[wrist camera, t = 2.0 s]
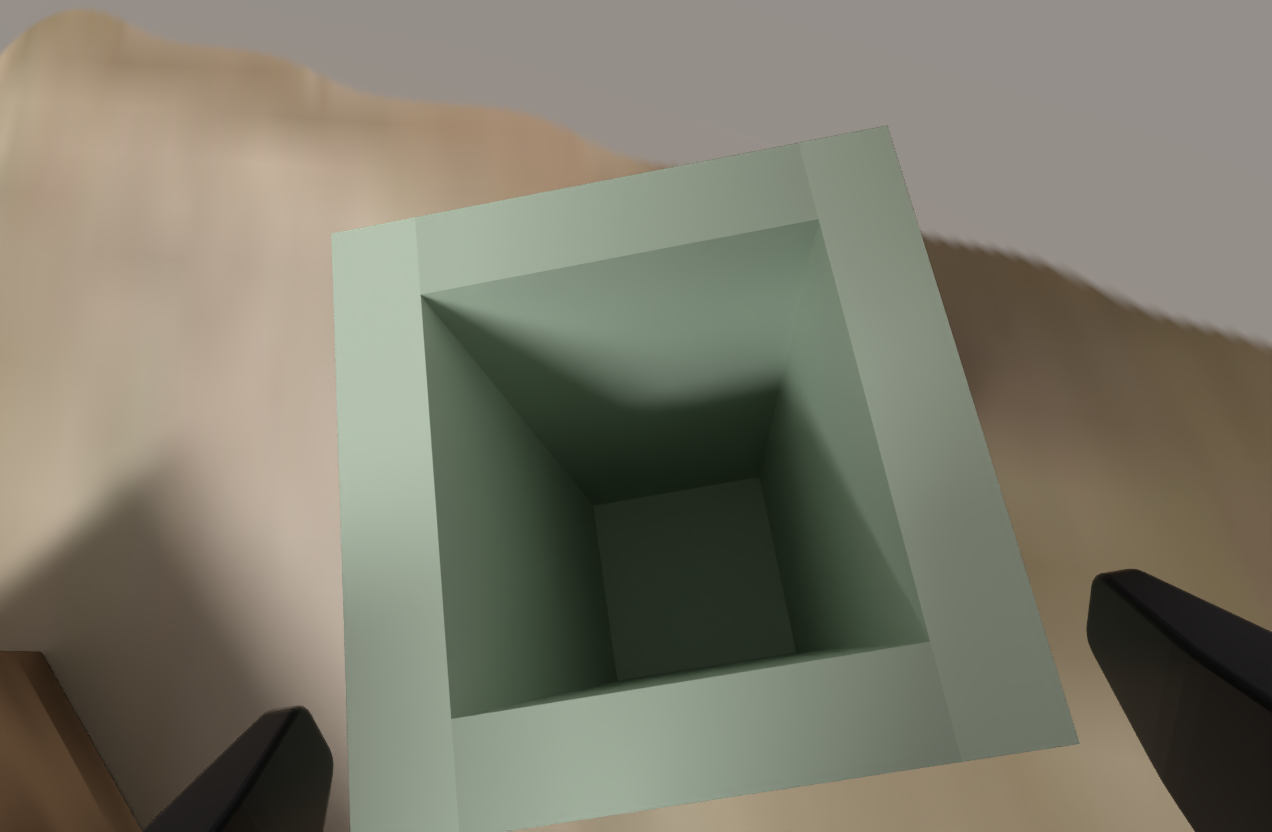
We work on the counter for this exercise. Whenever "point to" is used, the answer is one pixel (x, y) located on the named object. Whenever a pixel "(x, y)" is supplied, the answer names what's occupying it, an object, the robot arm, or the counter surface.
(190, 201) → the counter surface
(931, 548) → the sage crate
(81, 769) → the walnut crate
